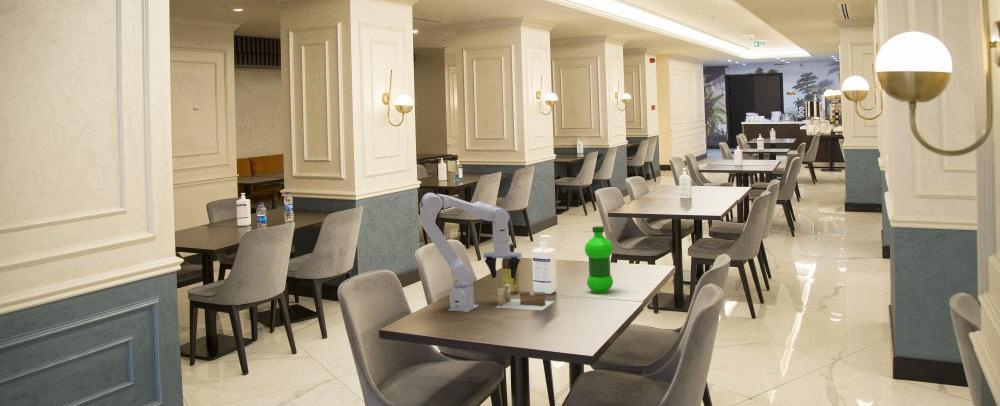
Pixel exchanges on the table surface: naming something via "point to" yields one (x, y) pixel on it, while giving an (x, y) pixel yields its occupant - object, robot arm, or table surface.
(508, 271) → the sauce bottle
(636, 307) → the table surface
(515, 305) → the base board
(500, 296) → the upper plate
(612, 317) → the table surface
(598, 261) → the plastic bottle
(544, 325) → the table surface
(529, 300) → the brown rectangular block
